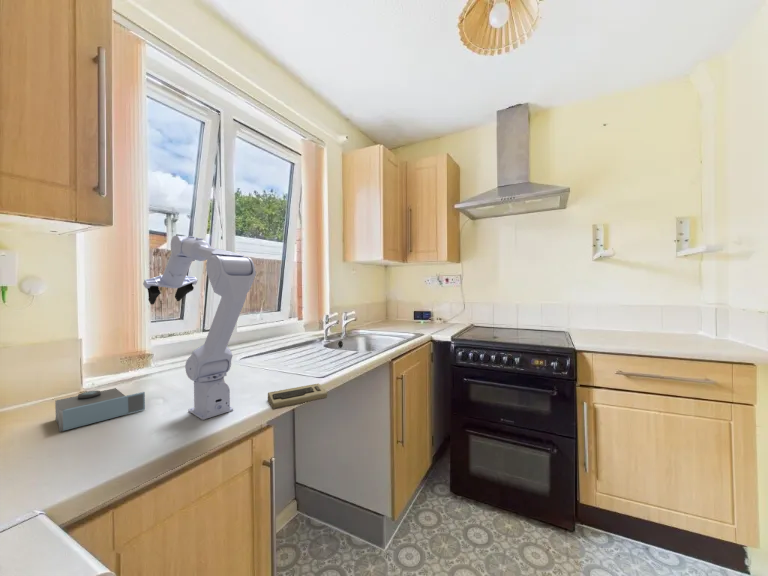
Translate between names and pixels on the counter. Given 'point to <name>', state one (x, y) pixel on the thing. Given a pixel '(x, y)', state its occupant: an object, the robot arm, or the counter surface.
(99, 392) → the camera body
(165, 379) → the counter surface
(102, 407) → the side door
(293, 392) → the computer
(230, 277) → the robot arm
